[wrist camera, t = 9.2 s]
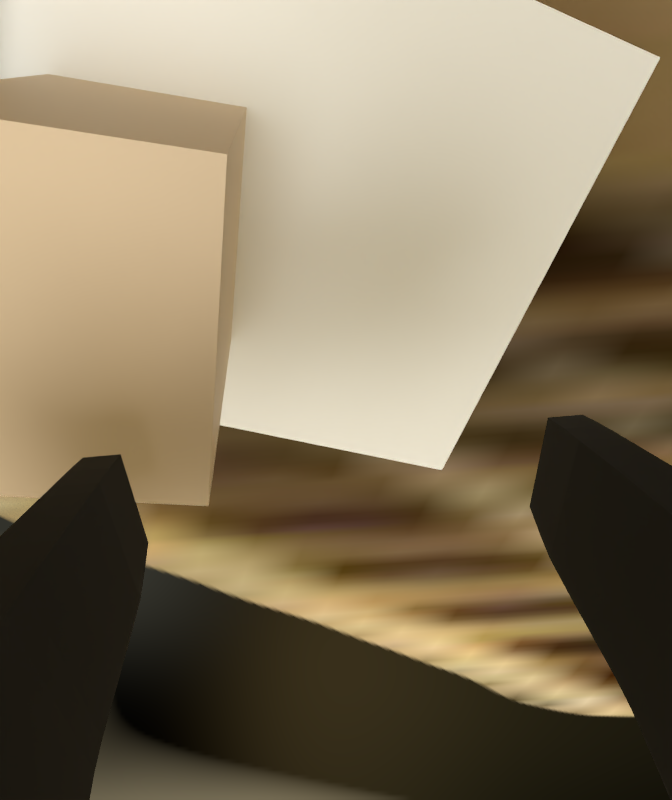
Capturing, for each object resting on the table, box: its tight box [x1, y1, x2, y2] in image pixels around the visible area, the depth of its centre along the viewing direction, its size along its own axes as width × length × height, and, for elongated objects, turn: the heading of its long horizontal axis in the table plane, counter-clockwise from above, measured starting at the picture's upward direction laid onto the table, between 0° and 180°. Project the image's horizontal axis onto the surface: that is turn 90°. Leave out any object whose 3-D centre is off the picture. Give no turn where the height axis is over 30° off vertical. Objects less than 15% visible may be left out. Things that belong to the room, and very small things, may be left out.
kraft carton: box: [0, 74, 247, 506], centre depth 13 cm, size 5×7×8 cm
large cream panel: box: [0, 0, 660, 470], centre depth 16 cm, size 15×18×4 cm
